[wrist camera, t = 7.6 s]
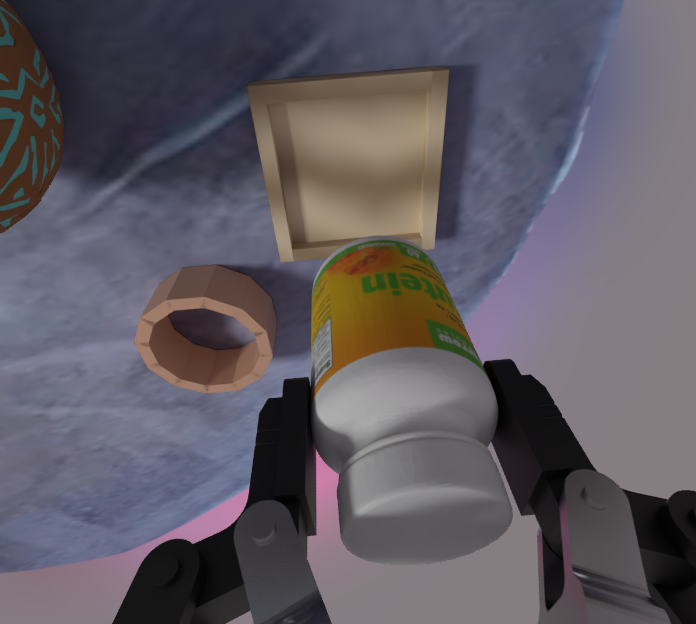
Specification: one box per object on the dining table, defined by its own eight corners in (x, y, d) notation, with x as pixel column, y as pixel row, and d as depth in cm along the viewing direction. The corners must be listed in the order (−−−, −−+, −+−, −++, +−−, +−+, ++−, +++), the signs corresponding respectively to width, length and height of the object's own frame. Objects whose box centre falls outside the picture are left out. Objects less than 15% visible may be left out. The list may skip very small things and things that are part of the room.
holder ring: (135, 271, 32) (113, 304, 29) (263, 260, 32) (256, 292, 29) (177, 361, 39) (164, 397, 35) (283, 351, 39) (280, 386, 35)
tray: (250, 81, 24) (246, 86, 23) (441, 66, 24) (449, 69, 23) (282, 250, 32) (281, 262, 30) (428, 237, 32) (434, 248, 31)
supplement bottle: (460, 248, 16) (601, 481, 8) (410, 344, 19) (476, 579, 11) (329, 216, 14) (346, 457, 7) (299, 325, 17) (288, 574, 10)
